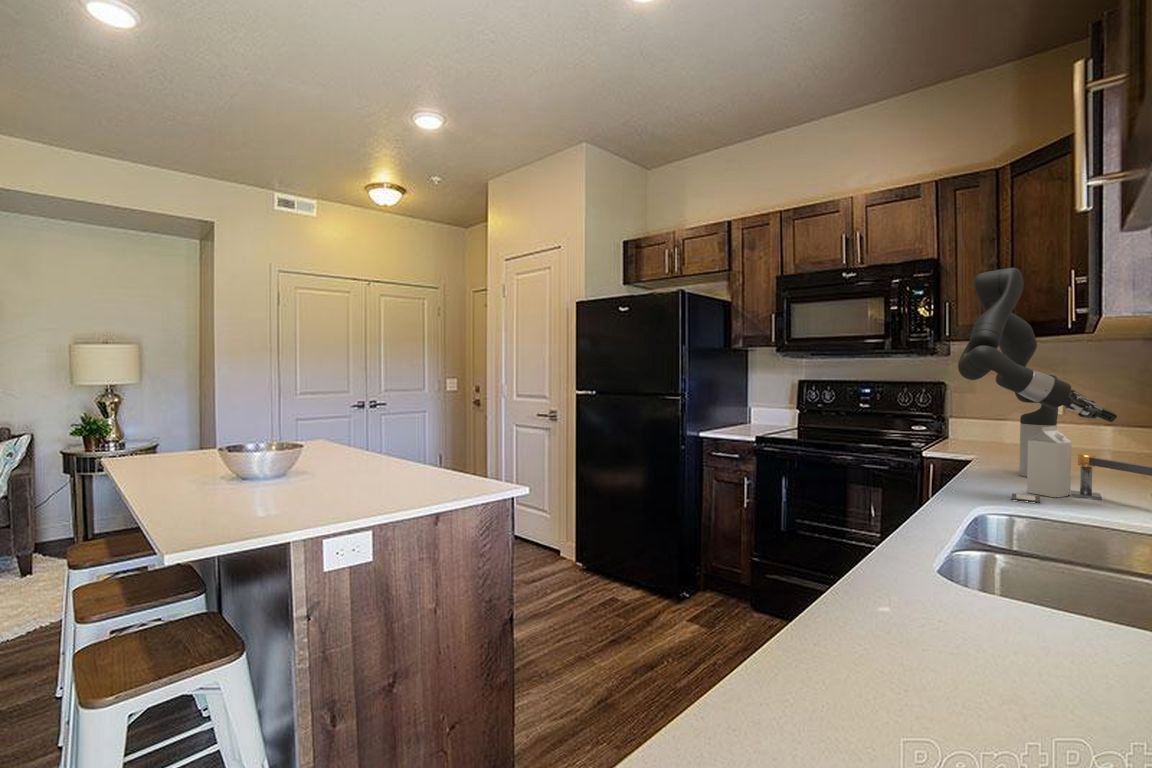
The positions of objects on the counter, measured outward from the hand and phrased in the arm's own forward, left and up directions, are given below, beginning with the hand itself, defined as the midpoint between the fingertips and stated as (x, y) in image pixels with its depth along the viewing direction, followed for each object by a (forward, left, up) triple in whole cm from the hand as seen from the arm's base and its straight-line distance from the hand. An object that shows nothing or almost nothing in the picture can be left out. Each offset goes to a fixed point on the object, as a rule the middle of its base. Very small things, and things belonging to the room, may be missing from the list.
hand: (1113, 417), depth 146 cm
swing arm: (+1, +3, -14) cm, 14 cm away
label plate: (+8, -18, -23) cm, 29 cm away
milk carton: (-4, -13, -23) cm, 26 cm away
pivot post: (-7, -5, -23) cm, 24 cm away
